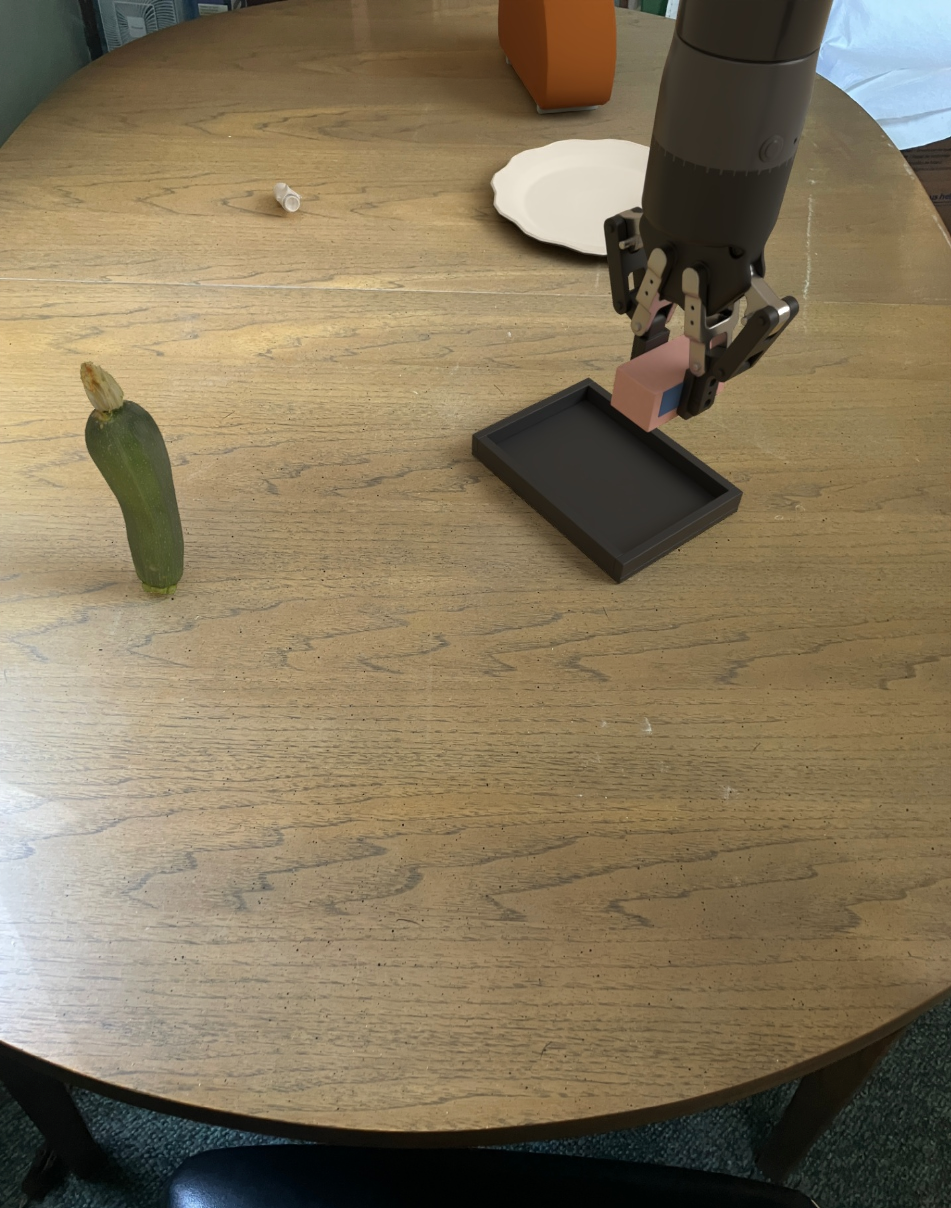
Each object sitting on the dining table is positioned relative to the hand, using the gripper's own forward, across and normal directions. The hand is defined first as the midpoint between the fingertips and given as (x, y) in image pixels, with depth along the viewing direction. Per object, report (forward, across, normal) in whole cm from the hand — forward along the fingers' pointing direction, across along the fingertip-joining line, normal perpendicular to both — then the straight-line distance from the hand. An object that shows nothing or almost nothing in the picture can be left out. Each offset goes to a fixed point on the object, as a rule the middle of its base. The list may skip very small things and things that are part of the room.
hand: (667, 395), depth 62 cm
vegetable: (+13, +16, +31) cm, 37 cm away
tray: (+13, +6, -1) cm, 14 cm away
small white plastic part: (+13, +58, -4) cm, 59 cm away
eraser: (0, 0, 0) cm, 0 cm away
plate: (+13, +37, -32) cm, 51 cm away
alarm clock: (+13, +65, -48) cm, 82 cm away
